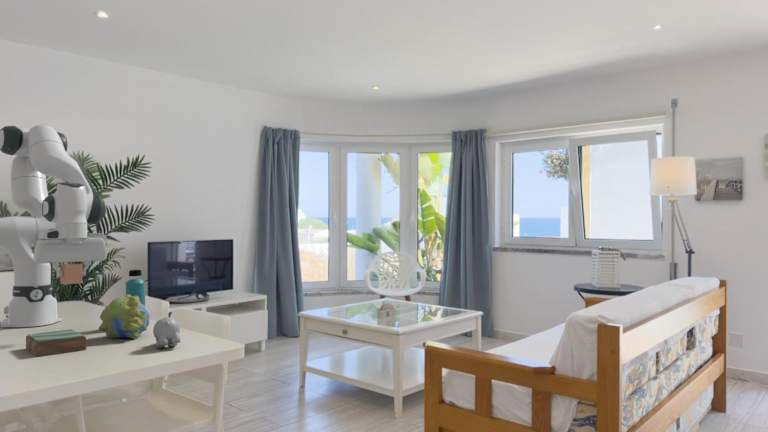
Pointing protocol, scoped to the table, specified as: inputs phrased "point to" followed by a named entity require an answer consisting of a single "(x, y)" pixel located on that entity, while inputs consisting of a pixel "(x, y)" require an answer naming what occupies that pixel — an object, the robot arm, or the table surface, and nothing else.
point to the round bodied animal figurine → (166, 332)
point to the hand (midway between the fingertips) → (71, 276)
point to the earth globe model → (124, 318)
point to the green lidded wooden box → (55, 342)
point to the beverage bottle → (136, 286)
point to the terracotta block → (71, 273)
